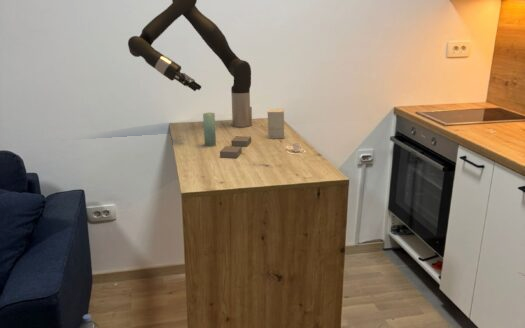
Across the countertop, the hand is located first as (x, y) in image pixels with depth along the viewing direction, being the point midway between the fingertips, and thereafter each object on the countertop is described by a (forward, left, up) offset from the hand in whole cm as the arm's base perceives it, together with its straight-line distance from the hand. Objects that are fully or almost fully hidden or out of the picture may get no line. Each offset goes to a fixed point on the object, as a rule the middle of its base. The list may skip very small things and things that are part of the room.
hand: (198, 88), depth 215 cm
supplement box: (-32, +13, -24) cm, 43 cm away
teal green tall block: (0, +8, -24) cm, 25 cm away
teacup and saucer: (-27, +37, -25) cm, 52 cm away
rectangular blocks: (-6, +21, -24) cm, 33 cm away
